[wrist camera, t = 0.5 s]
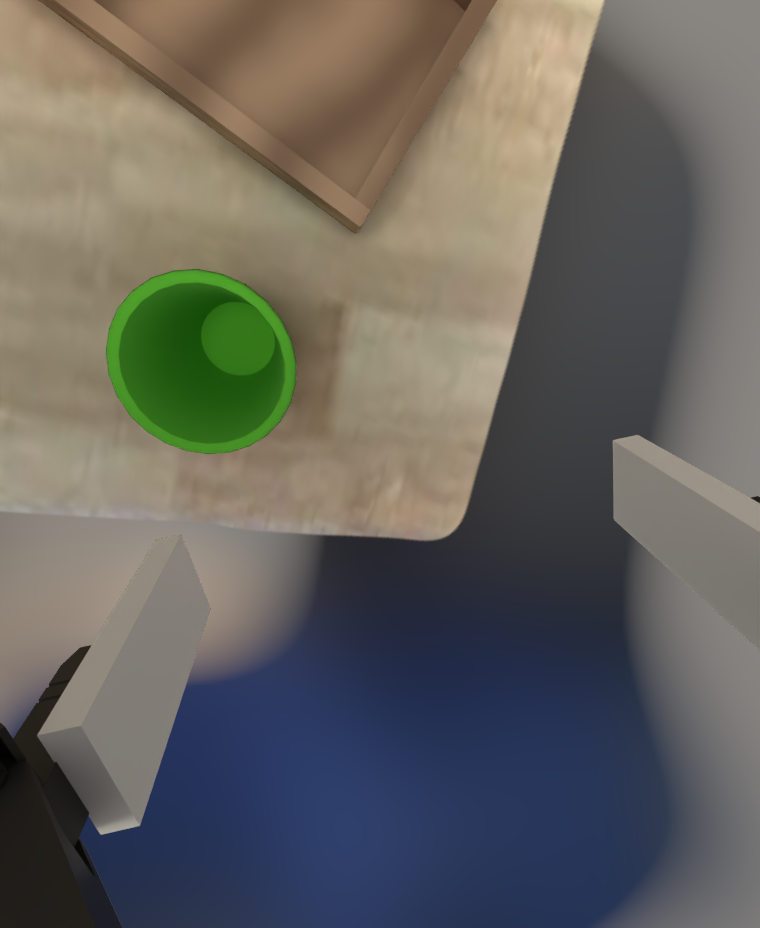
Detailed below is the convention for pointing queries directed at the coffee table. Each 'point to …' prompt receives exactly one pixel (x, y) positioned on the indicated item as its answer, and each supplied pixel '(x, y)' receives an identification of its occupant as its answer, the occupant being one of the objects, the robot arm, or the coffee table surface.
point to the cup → (201, 361)
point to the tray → (297, 78)
